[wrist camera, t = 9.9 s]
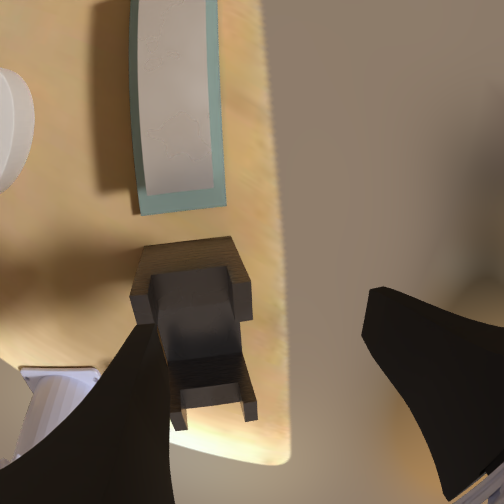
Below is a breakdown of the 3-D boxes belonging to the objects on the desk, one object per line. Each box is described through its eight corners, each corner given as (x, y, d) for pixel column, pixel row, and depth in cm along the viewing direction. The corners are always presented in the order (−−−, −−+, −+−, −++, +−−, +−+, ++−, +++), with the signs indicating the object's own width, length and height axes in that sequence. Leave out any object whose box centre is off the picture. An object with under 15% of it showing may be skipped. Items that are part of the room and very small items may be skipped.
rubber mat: (225, 203, 17) (226, 206, 17) (142, 213, 16) (141, 216, 16) (215, -42, 11) (216, -47, 10) (135, -35, 10) (134, -39, 9)
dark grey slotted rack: (240, 360, 22) (257, 419, 17) (173, 369, 21) (175, 430, 16) (230, 236, 18) (251, 281, 13) (144, 246, 17) (129, 296, 12)
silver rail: (208, 178, 16) (214, 187, 13) (154, 184, 15) (147, 195, 13) (201, -19, 11) (205, -45, 8) (147, -14, 11) (142, -39, 8)
